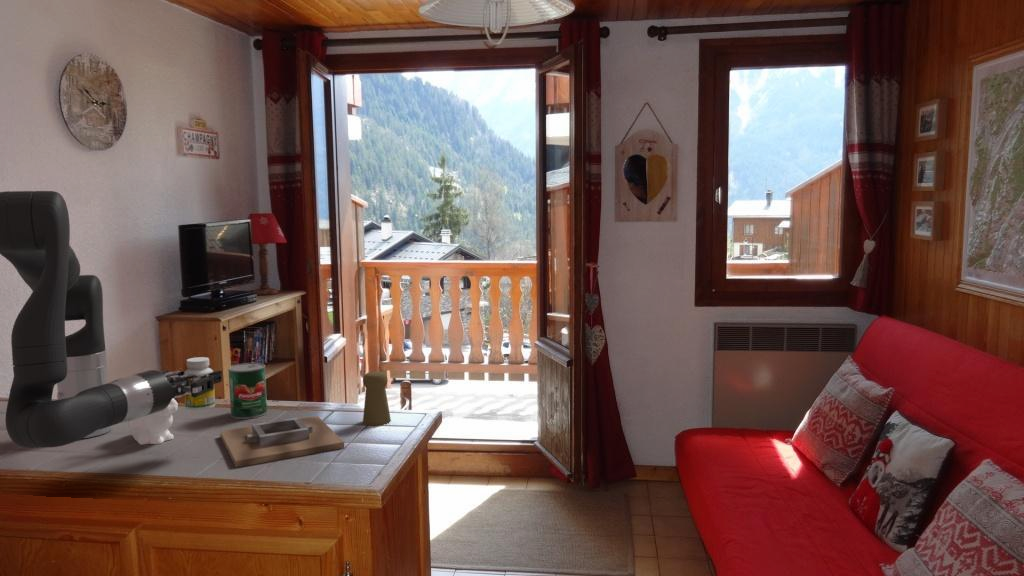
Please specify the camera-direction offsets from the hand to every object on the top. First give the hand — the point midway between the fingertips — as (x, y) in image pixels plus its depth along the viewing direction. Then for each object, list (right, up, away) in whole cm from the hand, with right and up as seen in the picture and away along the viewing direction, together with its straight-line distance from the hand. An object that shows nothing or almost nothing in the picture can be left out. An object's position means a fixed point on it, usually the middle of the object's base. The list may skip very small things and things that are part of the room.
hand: (208, 374), depth 142 cm
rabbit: (-13, -14, +6) cm, 20 cm away
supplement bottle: (-1, -7, -2) cm, 7 cm away
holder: (+13, -14, +3) cm, 19 cm away
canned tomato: (0, -12, +23) cm, 26 cm away
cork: (+30, -12, +16) cm, 36 cm away
